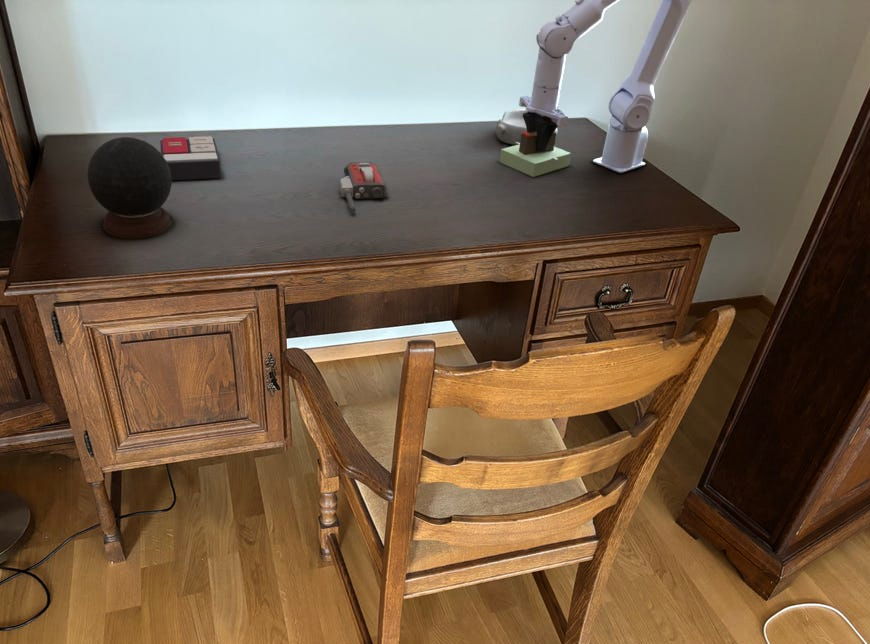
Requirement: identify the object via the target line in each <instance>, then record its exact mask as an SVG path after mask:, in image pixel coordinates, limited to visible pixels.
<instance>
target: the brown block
mask: <svg viewBox="0 0 870 644" xmlns="http://www.w3.org/2000/svg"><path fill="white" fill-rule="evenodd" d="M556 134H557V135H558V132H557V133H556V132H554V133H553V134H552V136H551V138H550V140H549V142H548V144H547V147H546V149H545V151H539V152H546V151H553V150H554V147H555V145H556V139H557V135H556ZM536 138H537V131H536V132H529V133H527V132H523V133H522V134H521V140H520V147H519V152H521V153H523V154H524V155H526V154H533V153H539V152H538V151H536Z"/></svg>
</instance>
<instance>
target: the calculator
mask: <svg viewBox="0 0 870 644" xmlns="http://www.w3.org/2000/svg"><path fill="white" fill-rule="evenodd" d="M159 143H160V153H161V154H162V156H163V157H164V158H165V160H166V161H167V164H168V166H169V168H170V173H171V181H187V180H206V179H207V180H208V179H221V178H223V177H222V168H221V167H222V165H221V159H220V155H219V151H218V148H217V147H218V146H217V143H216V140H215V138H213V136H210V135H209V136H207V135H206V136H189V137H188V138H187V137H185V136H179V137H162V139H161V140H160V141H159Z"/></svg>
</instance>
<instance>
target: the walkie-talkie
mask: <svg viewBox="0 0 870 644" xmlns="http://www.w3.org/2000/svg"><path fill="white" fill-rule="evenodd" d="M343 173H344V177H343V178H341V179H340V182H339V188H340V195H341V197H342V198H346V201H347V204H348V208H349V210H350V211H352V212H355V211H356V205H355V203H354V200H353V198H354V199H356V200H363V199H364V200H365V199H366V200H368V199H369V200H372V199H373V200H374V199H384V198H386V196H387V184H386V181H385V179H384V177H383V175H382V172H381V170H380V168H379V166H378V164H376V163H374V162H373V161H358V162H357V161H354V162H350V163H348V164H346V166H344V168H343Z"/></svg>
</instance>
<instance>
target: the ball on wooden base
mask: <svg viewBox="0 0 870 644" xmlns="http://www.w3.org/2000/svg"><path fill="white" fill-rule="evenodd" d="M87 166H88V167H87V183H88V186H89V190H90V191H91V193H92V195H93V197H94V198H95V200H96V201H97V202H98V203H99V204H100V206H101V207H103V208H104V209H106V211H108V212H107V213H106V215H105V217H104V218H103V219H102V226H103V230H104V231H105V232H106V233H107V234H109V235H110V236H113V237H115V238H120V239H127V240H128V239H129V240H131V239H132V240H135V239H137V240H138V239H144V238H150V237H154V236H158V235H160V234H163V233H164V232H166V231H167V230H169V228H170V227H171V225H172V217H171V215H170V213H169V212H167V210H166V209H164V207H163V205H165V203H166V202H167V200H168V198H169V195H170V193H171V189H172V184H173V183H172V180H171V173H170V168H169V166H168V164H167V161H166V160H165V158H164V157H163V156H162V154H161V151H159V150H158V149H157V148H156V146H154V145H152V144H150V143H149V142H147V141H145V140H142V139H140V138H136V137H129V136H123V137H115V138H113V139H110V140H108V141H106V142H104V143H103V144H101V145H100V146H99V147H98V148H97V149H96V150H95V151H94V153H93V154H92V156H91V157H90V159H89V163H88V165H87Z"/></svg>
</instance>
